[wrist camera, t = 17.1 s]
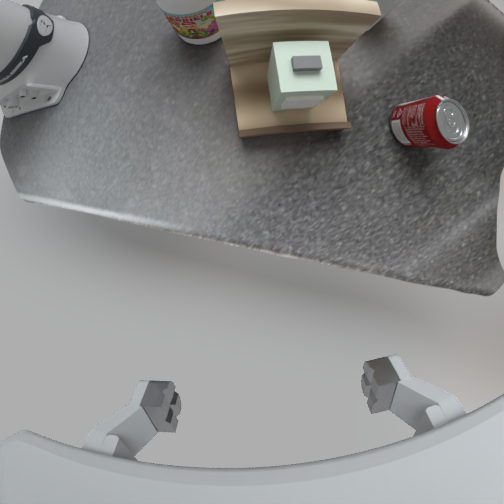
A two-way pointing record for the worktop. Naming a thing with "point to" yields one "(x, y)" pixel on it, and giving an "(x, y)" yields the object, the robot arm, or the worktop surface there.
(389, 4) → the skincare box
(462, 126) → the soda can
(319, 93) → the mint juice carton
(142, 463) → the robot arm
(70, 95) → the worktop surface
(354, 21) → the board
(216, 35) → the milk bottle
